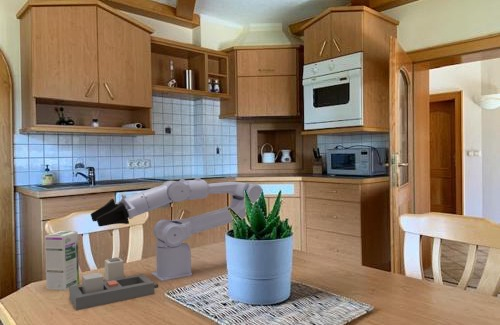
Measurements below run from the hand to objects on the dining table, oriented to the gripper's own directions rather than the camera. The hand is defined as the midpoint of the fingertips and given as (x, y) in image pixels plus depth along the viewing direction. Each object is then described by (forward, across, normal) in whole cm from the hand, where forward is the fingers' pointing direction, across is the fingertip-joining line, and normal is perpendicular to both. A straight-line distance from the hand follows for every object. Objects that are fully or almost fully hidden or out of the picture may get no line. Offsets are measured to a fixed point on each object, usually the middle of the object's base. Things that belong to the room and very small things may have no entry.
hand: (94, 220), depth 101 cm
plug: (0, -1, +18) cm, 18 cm away
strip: (+2, +9, +18) cm, 20 cm away
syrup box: (+12, -6, +16) cm, 21 cm away
